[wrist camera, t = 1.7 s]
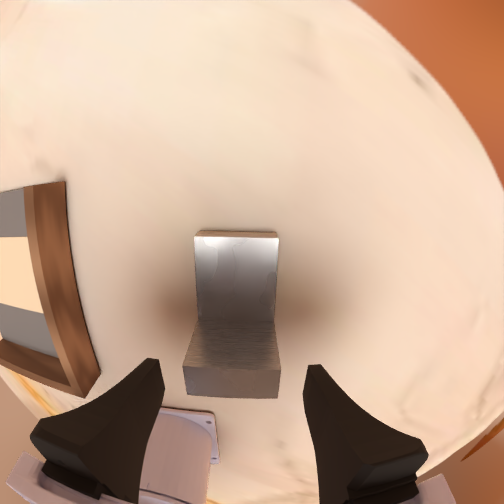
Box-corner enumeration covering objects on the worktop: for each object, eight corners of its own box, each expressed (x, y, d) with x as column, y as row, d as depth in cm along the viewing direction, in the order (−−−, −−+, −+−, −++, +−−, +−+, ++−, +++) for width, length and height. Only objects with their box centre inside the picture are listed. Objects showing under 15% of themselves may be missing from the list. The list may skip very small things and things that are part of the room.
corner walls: (100, 373, 19) (84, 398, 16) (7, 344, 19) (-9, 359, 16) (64, 181, 15) (32, 185, 11) (-25, 199, 15) (-49, 205, 11)
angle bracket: (270, 334, 18) (277, 398, 12) (203, 333, 18) (187, 394, 12) (276, 232, 16) (290, 265, 10) (199, 231, 16) (171, 262, 10)
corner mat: (100, 373, 19) (98, 377, 19) (7, 344, 19) (5, 346, 18) (64, 181, 15) (60, 181, 14) (-25, 199, 15) (-29, 200, 14)
